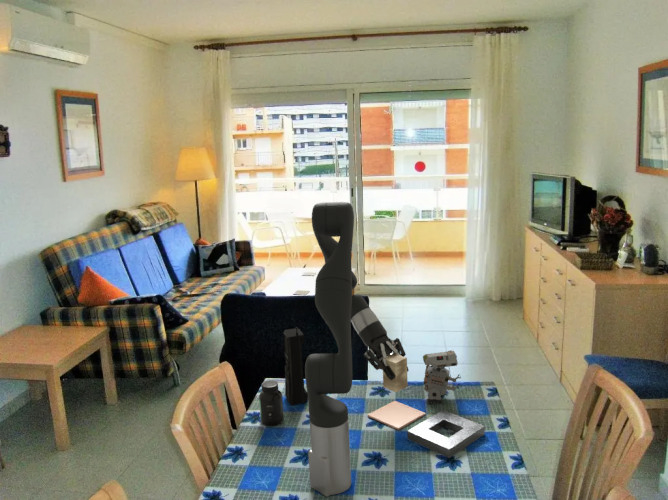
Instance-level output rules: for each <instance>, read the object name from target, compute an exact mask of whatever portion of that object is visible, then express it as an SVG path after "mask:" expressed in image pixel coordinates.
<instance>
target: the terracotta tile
mask: <svg viewBox="0 0 668 500" xmlns="http://www.w3.org/2000/svg"><path fill="white" fill-rule="evenodd" d="M425 415H426V412H424V411H421V410H418V409H416V408H414V407H412V406H409V405H407V404H404V403H401V402H399V401H397V400H393V401H391V402H389V403H387V404H386V405H383V406H382V407H380V408H378V409H376V410H374V411H372V412H370V413H367V417H368V418H370V419H373V420H374V421H377V422H379V423H381V424H384V425H386V426H388V427H390V428H393V429H395V430H397V431H400V430H401V429H403V428H405V427H406V426H408V425H410V424H411V423H414V422H415V421H417V420H419V419H420V418H422V417H424V416H425Z"/></svg>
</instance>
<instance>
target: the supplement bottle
mask: <svg viewBox="0 0 668 500" xmlns="http://www.w3.org/2000/svg"><path fill="white" fill-rule="evenodd" d="M260 387H261V388H260V389H261V391H260V393H259V395H258V402H259V403H258V404H259V415H260V416H259V417H260V423H261V424H262V425H263V426H264V427H269V428H271V427H276V426H279V425H281V424H283V422H284V420H285V415H284V402H283V401H284V399H283V393H282V391H281V390H279V383H278V381H276V380H266V381H263V382H262V383H261V386H260Z"/></svg>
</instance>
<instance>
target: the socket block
mask: <svg viewBox="0 0 668 500" xmlns="http://www.w3.org/2000/svg"><path fill="white" fill-rule="evenodd" d="M442 429H445V430H448V431H451V432H453V433H454V434H453V435H451V436H449V437H448V436H445V435H443V434H441V433H439V431H440V430H442ZM485 429H486V427H485V425H483V424H481V423H478V422H475V421H472V420H470V419H467V418H464V417H462V416H459V415H457V414H455V413H451V412H449V411H447V410H444V409H442V410H441V411H438V412H437V413H436V414H433V415H432V416H431V417H428V418H427V419H425V420H424V421H422V422H420V423H417V424H416V425H415V426H413V427H411V428H410V429H408V430H407V431H406V432H407V436H406V437H407V440H409V441H410V442H413V443H415V444H417V445H419V446H422V447H424V448H426V449H428V450H430V451H433V452H435V453H437V454H439V455H442V456H444V457H446V458H448V459H450V458H452V457H453V456H455V455H456V454H458V453H460V452H461V451H462V450H464V449H465V448H467V447H469V446H470V445H471V444H473V443H474V442H475V441H477V440H479V439H480V438H481V437H483V436H484V435H485V434H486V432H485Z"/></svg>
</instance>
